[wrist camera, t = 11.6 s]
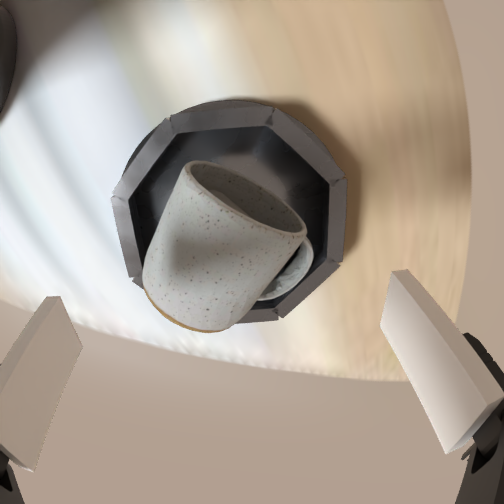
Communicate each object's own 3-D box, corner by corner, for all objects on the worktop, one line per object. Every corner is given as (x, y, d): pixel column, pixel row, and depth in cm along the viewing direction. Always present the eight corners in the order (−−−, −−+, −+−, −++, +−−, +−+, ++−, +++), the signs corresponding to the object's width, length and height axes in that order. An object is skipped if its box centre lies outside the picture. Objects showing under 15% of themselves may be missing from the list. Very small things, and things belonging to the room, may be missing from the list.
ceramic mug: (149, 252, 22) (119, 317, 15) (194, 150, 19) (174, 175, 12) (273, 304, 25) (289, 376, 18) (330, 219, 22) (373, 273, 15)
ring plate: (146, 315, 26) (139, 333, 23) (105, 119, 18) (90, 121, 16) (334, 301, 26) (343, 318, 24) (342, 99, 19) (355, 98, 16)
